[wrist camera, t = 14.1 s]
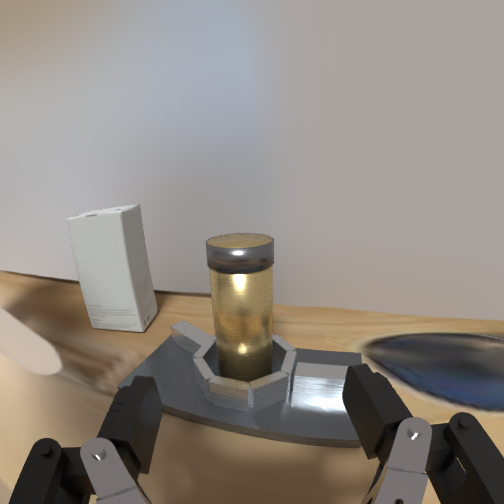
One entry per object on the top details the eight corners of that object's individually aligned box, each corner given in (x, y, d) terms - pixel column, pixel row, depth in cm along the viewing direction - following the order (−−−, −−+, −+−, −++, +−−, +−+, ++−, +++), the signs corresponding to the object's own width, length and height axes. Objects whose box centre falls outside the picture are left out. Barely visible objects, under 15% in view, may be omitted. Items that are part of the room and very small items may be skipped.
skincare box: (158, 313, 36) (145, 203, 32) (143, 335, 30) (123, 209, 26) (108, 309, 36) (91, 208, 33) (88, 329, 31) (65, 214, 27)
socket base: (120, 394, 20) (109, 364, 19) (177, 337, 30) (173, 310, 30) (360, 447, 15) (372, 418, 14) (359, 360, 25) (365, 331, 24)
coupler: (210, 389, 21) (193, 246, 18) (230, 359, 25) (221, 232, 22) (265, 400, 19) (264, 249, 16) (278, 366, 24) (279, 234, 21)
